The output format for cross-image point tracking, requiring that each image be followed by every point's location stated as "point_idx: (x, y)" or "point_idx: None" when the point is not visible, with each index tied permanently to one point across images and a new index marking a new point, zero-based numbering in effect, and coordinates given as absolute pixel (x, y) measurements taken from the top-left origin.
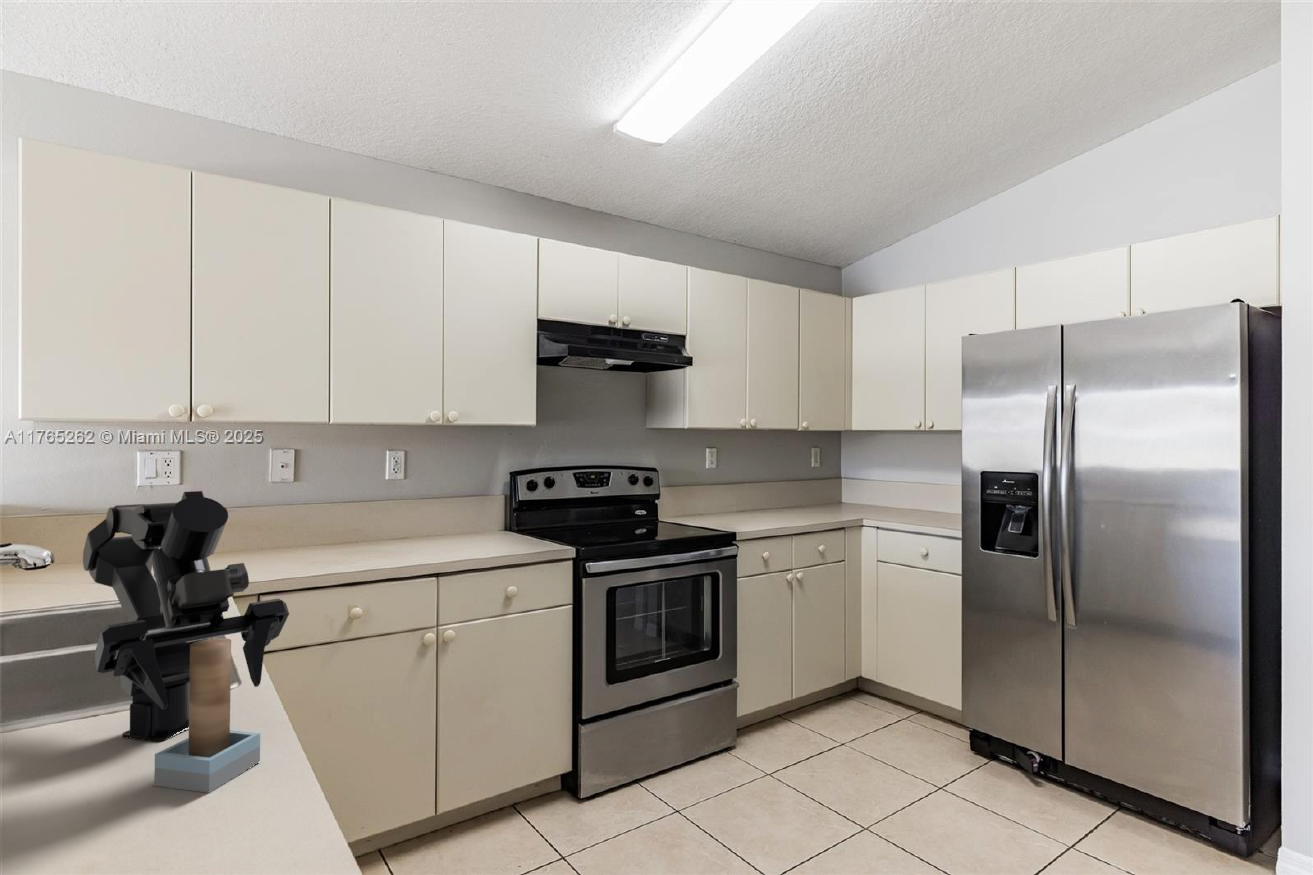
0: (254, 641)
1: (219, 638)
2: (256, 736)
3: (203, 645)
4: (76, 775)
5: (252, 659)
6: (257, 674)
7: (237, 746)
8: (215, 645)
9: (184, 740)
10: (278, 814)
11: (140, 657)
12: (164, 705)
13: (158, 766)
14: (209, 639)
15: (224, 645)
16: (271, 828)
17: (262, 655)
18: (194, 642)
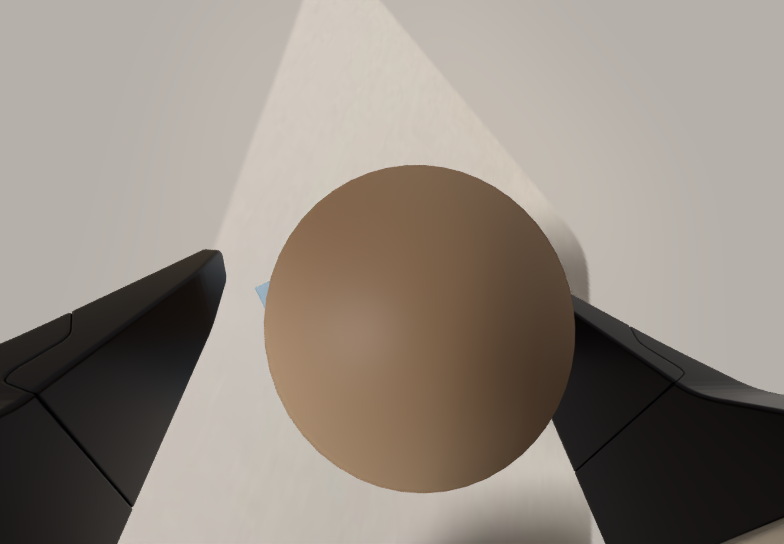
0: (23, 389)
1: (324, 436)
2: (267, 282)
3: (496, 281)
4: (512, 512)
5: (153, 340)
6: (197, 263)
7: None
8: (431, 201)
9: None
10: (329, 100)
11: (781, 397)
12: None
13: None
14: (404, 472)
15: (369, 176)
16: (352, 75)
17: (87, 308)
18: (529, 446)
